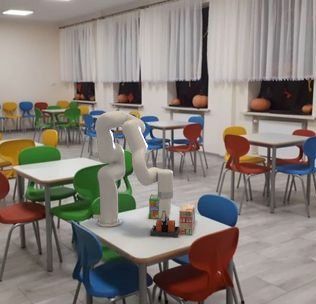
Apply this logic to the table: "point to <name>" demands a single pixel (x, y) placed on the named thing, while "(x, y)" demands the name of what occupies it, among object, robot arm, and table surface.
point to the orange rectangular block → (170, 225)
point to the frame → (164, 234)
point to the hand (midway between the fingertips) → (165, 229)
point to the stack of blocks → (186, 219)
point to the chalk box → (154, 207)
